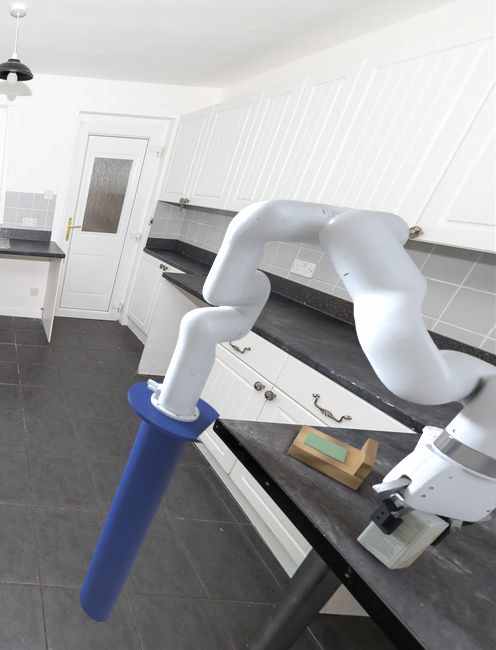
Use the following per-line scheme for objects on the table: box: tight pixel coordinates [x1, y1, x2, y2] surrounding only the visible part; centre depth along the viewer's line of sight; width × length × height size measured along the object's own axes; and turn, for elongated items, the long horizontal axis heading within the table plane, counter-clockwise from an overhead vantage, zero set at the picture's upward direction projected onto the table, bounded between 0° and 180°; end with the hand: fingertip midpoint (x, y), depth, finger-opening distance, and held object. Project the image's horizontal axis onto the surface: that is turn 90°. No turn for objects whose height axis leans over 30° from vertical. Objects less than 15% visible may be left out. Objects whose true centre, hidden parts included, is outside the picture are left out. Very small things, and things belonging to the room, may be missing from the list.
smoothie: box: [413, 425, 444, 452], centre depth 78 cm, size 6×6×14 cm
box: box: [356, 496, 449, 570], centre depth 56 cm, size 5×4×11 cm
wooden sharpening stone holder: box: [286, 423, 380, 491], centre depth 79 cm, size 12×13×7 cm
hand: (401, 531), depth 56 cm, fingers closed on box, 5 cm apart
